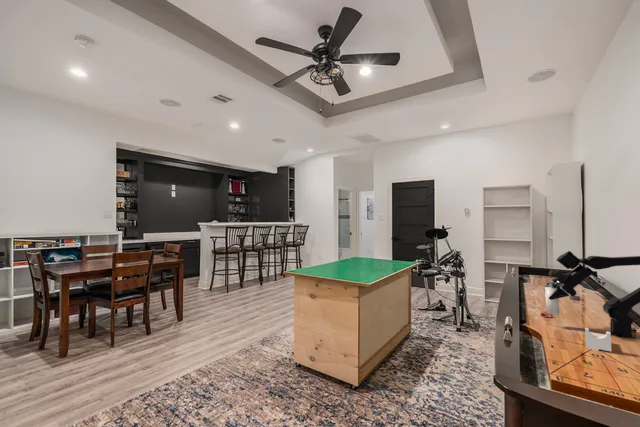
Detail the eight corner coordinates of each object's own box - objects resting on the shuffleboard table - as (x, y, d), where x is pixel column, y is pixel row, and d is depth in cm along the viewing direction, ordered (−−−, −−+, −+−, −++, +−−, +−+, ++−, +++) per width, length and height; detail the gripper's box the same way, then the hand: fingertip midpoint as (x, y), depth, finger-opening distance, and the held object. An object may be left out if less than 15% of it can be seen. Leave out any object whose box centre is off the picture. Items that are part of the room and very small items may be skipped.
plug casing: (562, 314, 137) (560, 284, 138) (550, 314, 138) (549, 284, 138) (554, 311, 142) (553, 282, 143) (543, 311, 143) (542, 282, 143)
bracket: (611, 354, 110) (610, 333, 110) (586, 349, 114) (585, 329, 115) (609, 344, 119) (608, 325, 120) (585, 339, 124) (584, 321, 124)
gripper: (556, 261, 148) (530, 281, 152) (565, 265, 131) (536, 288, 136) (577, 278, 143) (550, 298, 148) (589, 284, 127) (558, 307, 132)
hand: (548, 297), depth 141 cm, fingers closed on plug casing, 5 cm apart
